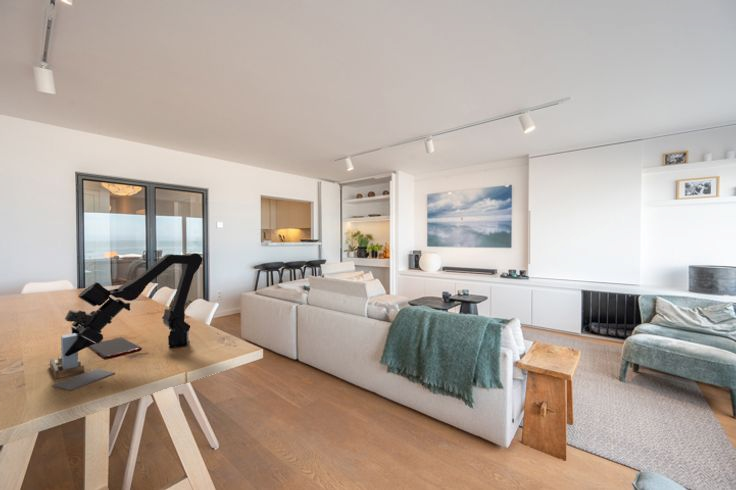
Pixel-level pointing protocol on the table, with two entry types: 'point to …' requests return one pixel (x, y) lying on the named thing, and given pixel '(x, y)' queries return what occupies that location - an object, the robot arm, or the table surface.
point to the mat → (83, 379)
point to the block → (66, 344)
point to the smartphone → (114, 348)
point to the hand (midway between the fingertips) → (64, 353)
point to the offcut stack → (59, 361)
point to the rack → (62, 373)
